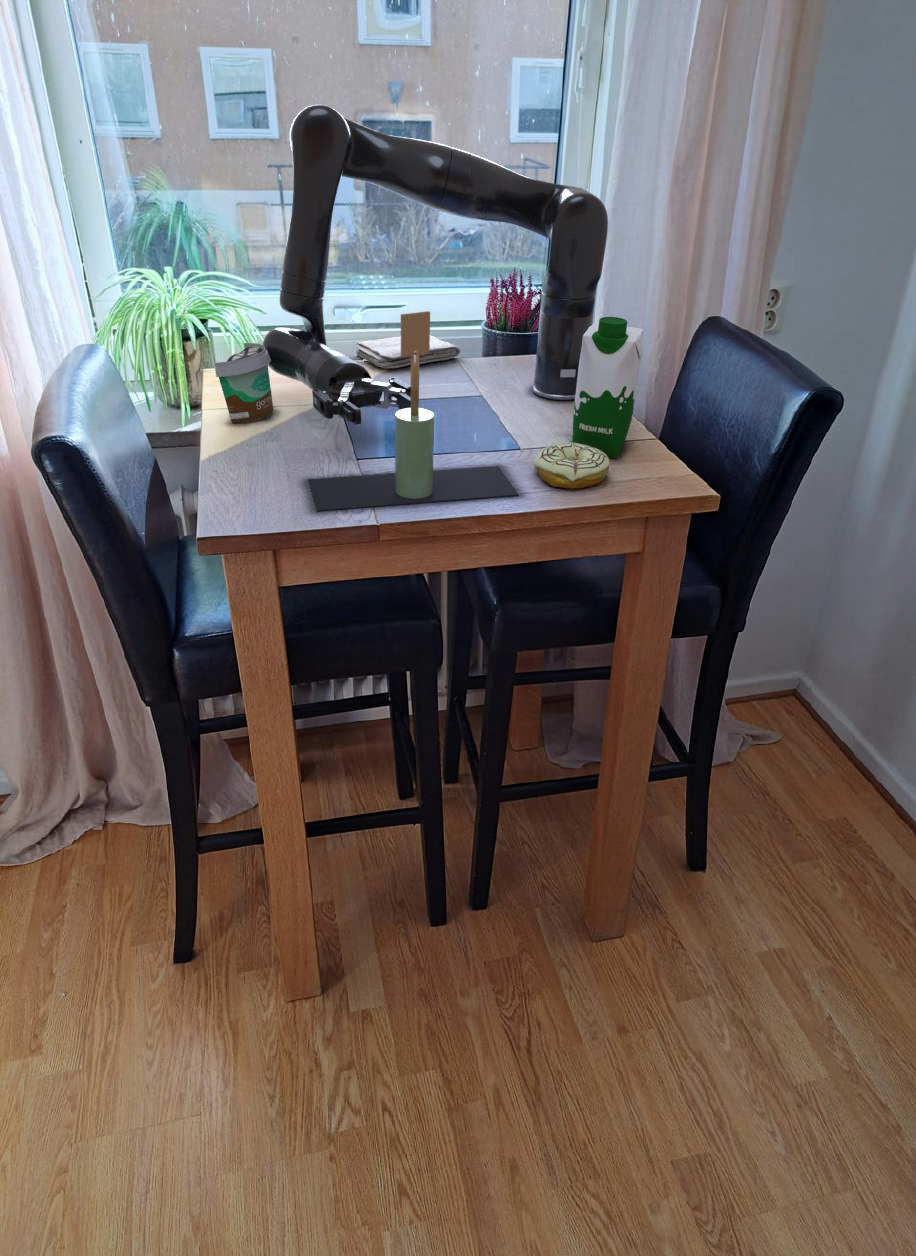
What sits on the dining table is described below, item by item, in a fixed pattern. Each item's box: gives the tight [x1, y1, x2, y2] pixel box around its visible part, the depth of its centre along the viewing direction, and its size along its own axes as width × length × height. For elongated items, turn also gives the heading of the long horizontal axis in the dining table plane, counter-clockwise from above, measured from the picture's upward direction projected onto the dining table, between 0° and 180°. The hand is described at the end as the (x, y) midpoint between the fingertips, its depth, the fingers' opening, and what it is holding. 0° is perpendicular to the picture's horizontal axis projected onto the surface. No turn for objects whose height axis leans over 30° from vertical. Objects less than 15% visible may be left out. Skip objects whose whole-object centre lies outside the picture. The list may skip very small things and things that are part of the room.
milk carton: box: [572, 316, 644, 460], centre depth 134 cm, size 9×9×20 cm
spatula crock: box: [394, 310, 435, 499], centre depth 116 cm, size 5×5×24 cm
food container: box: [214, 342, 274, 424], centre depth 143 cm, size 12×6×10 cm, turn 168°
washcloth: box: [355, 334, 461, 370], centre depth 174 cm, size 12×18×3 cm, turn 124°
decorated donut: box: [533, 441, 611, 489], centre depth 128 cm, size 10×11×4 cm
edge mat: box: [307, 465, 520, 512], centre depth 124 cm, size 28×10×1 cm, turn 104°
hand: (386, 413), depth 125 cm, fingers open, 8 cm apart
